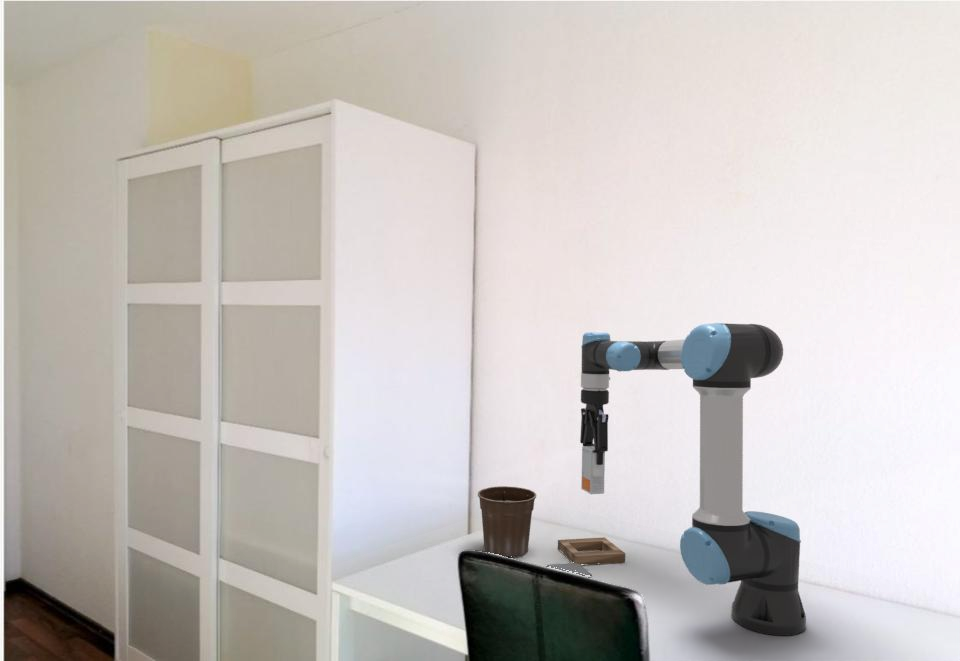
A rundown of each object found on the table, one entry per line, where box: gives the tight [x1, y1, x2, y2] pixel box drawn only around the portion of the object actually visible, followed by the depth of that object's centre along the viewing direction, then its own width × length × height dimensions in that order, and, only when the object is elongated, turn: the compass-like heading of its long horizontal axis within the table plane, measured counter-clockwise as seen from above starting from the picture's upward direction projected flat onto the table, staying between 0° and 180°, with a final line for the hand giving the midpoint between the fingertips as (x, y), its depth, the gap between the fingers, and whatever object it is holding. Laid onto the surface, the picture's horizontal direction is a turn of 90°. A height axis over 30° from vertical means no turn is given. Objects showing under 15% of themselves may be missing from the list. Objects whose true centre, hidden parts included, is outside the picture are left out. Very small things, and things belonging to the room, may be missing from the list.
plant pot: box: [477, 485, 538, 559], centre depth 204 cm, size 16×16×16 cm
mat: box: [545, 562, 593, 577], centre depth 189 cm, size 9×9×1 cm
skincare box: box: [580, 445, 606, 495], centre depth 201 cm, size 6×4×12 cm
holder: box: [557, 536, 626, 565], centre depth 202 cm, size 14×14×2 cm
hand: (592, 473), depth 201 cm, fingers closed on skincare box, 6 cm apart
